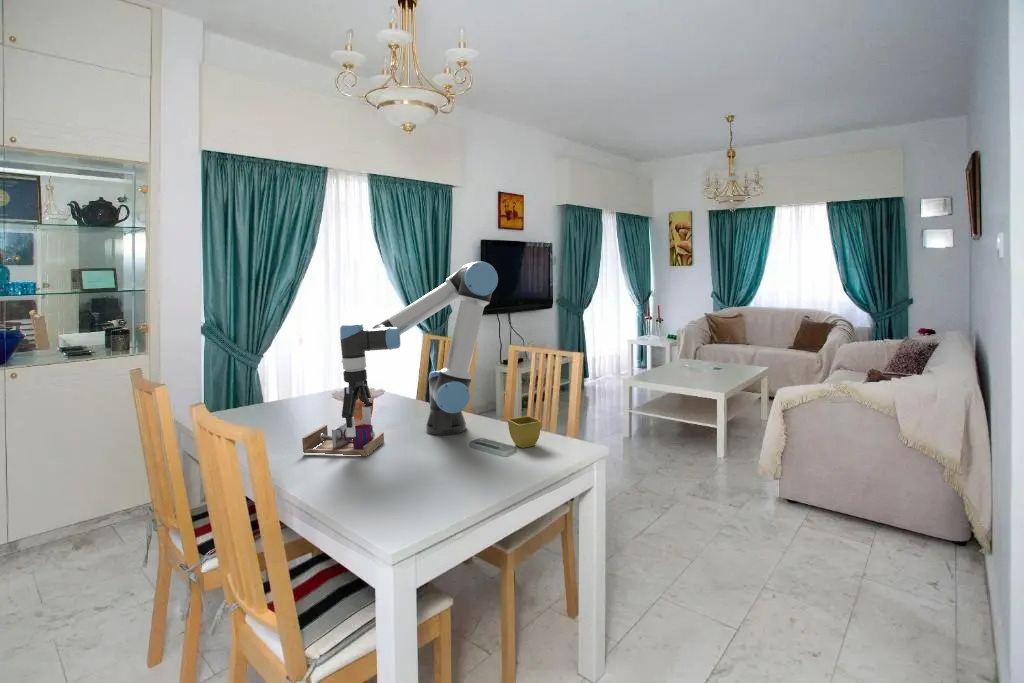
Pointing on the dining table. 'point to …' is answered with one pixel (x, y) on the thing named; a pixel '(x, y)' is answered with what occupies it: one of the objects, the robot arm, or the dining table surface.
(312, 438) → the wooden tray
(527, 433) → the flower pot
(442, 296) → the robot arm
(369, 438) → the mug
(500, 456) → the dining table surface
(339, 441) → the pusher
